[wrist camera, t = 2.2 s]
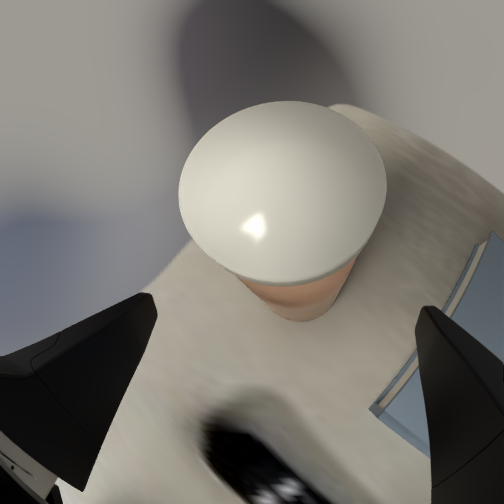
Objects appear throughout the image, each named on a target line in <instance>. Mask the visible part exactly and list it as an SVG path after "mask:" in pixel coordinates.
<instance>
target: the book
mask: <svg viewBox="0 0 504 504" xmlns="http://www.w3.org/2000/svg"><path fill="white" fill-rule="evenodd" d="M442 312H443V313H444V314H446V315H447V316H448V317H449V318H451V319H452V320H453V321H455V322H456V323H457V324H458V325H460V326H461V327H462V328H463V329H464V330H466V331H467V332H468V333H469V334H471V335H472V336H473V337H474V338H475V339H477V340H478V341H479V342H480V343H481V344H483V345H484V346H485V347H486V348H487V349H488V350H490V351H491V352H492V353H493V354H494V355H495V356H497V357H498V358H499V359H500V360H501V361H502V362H503V363H504V242H503V241H502V240H501V239H500V238H499V237H498V236H497V235H496V234H495V233H494V232H493V231H492V232H491V233H490V235H489V237H488V240H487V241H485V242H484V243H483V244H481V245H480V246H479V245H478V244H476V246H475V248H474V250H473V252H472V255H471V257H470V259H469V261H468V263H467V265H466V267H465V269H464V271H463V273H462V275H461V277H460V279H459V281H458V283H457V285H456V287H455V288H454V290H453V292H452V294H451V296H450V297H449V299H448V301H447V303H446V304H445V306H444V308H443V309H442ZM369 410H370V411H371V412H372V413H373V414H374V415H375V416H376V417H377V418H378V419H379V420H380V421H382V422H383V423H384V424H385V425H387V426H388V427H389V428H390V429H392V430H393V431H394V432H396V433H397V434H398V435H400V436H401V437H402V438H403V439H405V440H406V441H407V442H409V443H410V444H411V445H413V446H414V447H415V448H417V449H418V450H420V451H421V452H422V453H424V454H425V455H426V456H428V457H429V458H430V445H429V435H428V426H427V418H426V410H425V403H424V397H423V391H422V385H421V380H420V374H419V364H418V354H417V349H416V351H415V352H414V354H413V355H412V356H411V358H410V359H409V360H408V362H407V363H406V364H405V366H404V367H403V368H402V370H401V371H400V372H399V373H398V375H397V376H396V377H395V378H394V380H393V381H392V382H391V383H390V385H389V386H388V387H387V388H386V389H385V391H384V392H383V393H382V394H381V395H380V396H379V398H378V399H377V400H376V401H375V402H374V403H373V404H372V405H371V407H370V408H369Z"/></svg>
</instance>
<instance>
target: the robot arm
mask: <svg viewBox="0 0 504 504" xmlns="http://www.w3.org/2000/svg"><path fill="white" fill-rule="evenodd" d="M157 315H158V314H157V309H156V306H155V303H154V300H153V297H152V295H151V294H150V293H143V292H140V293H138V294H136V295H134V296H132V297H130V298H128V299H125V300H123V301H122V302H119V303H117V304H115V305H113V306H111V307H109V308H107V309H105V310H103V311H101V312H99V313H96V314H94V315H92V316H90V317H88V318H86V319H84V320H83V321H80V322H78V323H76V324H74V325H72V326H70V327H68V328H66V329H64V330H62V331H61V332H58V333H56V334H54V335H52V336H50V337H48V338H46V339H43V340H41V341H39V342H37V343H34V344H32V345H30V346H27V347H25V348H23V349H20V350H18V351H15V352H13V353H11V354H8V355H5V356H0V504H63V501H62V498H61V494H60V490H59V487H58V486H57V485H56V484H55V482H56V480H57V478H58V477H59V478H60V479H62V480H63V481H65V482H67V483H68V484H70V485H71V486H73V487H75V488H76V489H78V490H80V491H81V492H83V491H84V489H85V487H86V484H87V482H88V479H89V476H90V474H91V471H92V469H93V466H94V464H95V461H96V459H97V456H98V454H99V451H100V449H101V446H102V444H103V442H104V439H105V437H106V434H107V432H108V430H109V428H110V425H111V423H112V421H113V418H114V416H115V414H116V412H117V409H118V407H119V405H120V403H121V401H122V398H123V396H124V394H125V392H126V390H127V388H128V386H129V383H130V381H131V379H132V377H133V375H134V373H135V371H136V369H137V367H138V365H139V362H140V360H141V358H142V356H143V354H144V352H145V349H146V347H147V344H148V341H149V338H150V336H151V333H152V330H153V328H154V325H155V322H156V320H157ZM415 336H416V345H417V354H418V364H419V374H420V380H421V385H422V391H423V397H424V403H425V410H426V418H427V426H428V435H429V445H430V459H431V482H432V489H431V504H504V363H503V362H502V361H501V360H500V359H499V358H498V357H497V356H495V355H494V354H493V353H492V352H491V351H490V350H488V349H487V348H486V347H485V346H484V345H483V344H481V343H480V342H479V341H478V340H477V339H475V338H474V337H473V336H472V335H471V334H469V333H468V332H467V331H466V330H464V329H463V328H462V327H461V326H460V325H458V324H457V323H456V322H455V321H453V320H452V319H451V318H449V317H448V316H447V315H446V314H444V313H443V312H442V311H441V310H439V309H438V308H437V307H435V306H423V307H422V309H421V311H420V314H419V317H418V320H417V323H416V327H415Z"/></svg>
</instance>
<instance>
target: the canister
mask: <svg viewBox="0 0 504 504" xmlns="http://www.w3.org/2000/svg"><path fill="white" fill-rule="evenodd" d="M386 191H387V180H386V172H385V168H384V164H383V161H382V158H381V156H380V153H379V151H378V150H377V148H376V146H375V145H374V143H373V141H372V140H371V139H370V138H369V136H368V135H367V134H366V133H365V132H364V131H363V130H362V129H361V128H360V127H359V126H358V125H357V124H355V123H354V122H353V121H351V120H350V119H349V118H347V117H345V116H343V115H342V114H340V113H338V112H336V111H334V110H331V109H329V108H326V107H323V106H320V105H316V104H311V103H306V102H297V101H279V102H271V103H264V104H260V105H256V106H253V107H250V108H247V109H244V110H242V111H239V112H237V113H235V114H233V115H231V116H229V117H228V118H226V119H224V120H223V121H221V122H219V123H218V124H217V125H216V126H214V127H213V128H212V129H210V130H209V131H208V132H207V133H206V134H205V135H204V136H203V137H202V138H201V140H200V141H199V142H198V143H197V144H196V146H195V147H194V149H193V150H192V152H191V153H190V155H189V157H188V159H187V161H186V163H185V165H184V169H183V171H182V174H181V178H180V184H179V206H180V211H181V214H182V218H183V221H184V223H185V226H186V228H187V230H188V232H189V233H190V235H191V236H192V238H193V239H194V241H195V242H196V243H197V244H198V245H199V246H200V247H201V248H202V250H203V251H205V252H206V253H207V254H208V255H209V256H210V257H211V258H212V259H213V260H214V261H215V262H217V263H218V264H219V265H220V266H222V267H223V268H224V269H225V270H227V271H228V272H230V273H232V274H234V275H235V276H236V277H237V278H238V279H239V280H240V281H241V282H243V283H244V284H245V285H246V286H247V287H248V288H249V289H250V290H251V291H252V292H253V293H254V294H255V295H256V296H257V297H258V298H259V299H260V300H262V301H263V302H264V303H265V304H266V305H267V306H268V307H269V308H270V309H271V310H272V311H273V312H274V313H276V314H277V315H278V316H280V317H282V318H284V319H286V320H290V321H295V322H304V321H310V320H313V319H316V318H318V317H320V316H321V315H323V314H324V313H325V312H327V311H328V310H329V309H330V307H331V306H332V305H333V303H334V301H335V300H336V298H337V296H338V294H339V292H340V290H341V288H342V286H343V284H344V283H345V281H346V279H347V277H348V275H349V273H350V271H351V269H352V267H353V265H354V263H355V261H356V258H357V256H358V254H359V253H360V252H361V251H362V249H363V248H364V247H365V245H366V244H367V242H368V241H369V239H370V237H371V235H372V233H373V231H374V229H375V227H376V225H377V223H378V220H379V218H380V216H381V213H382V211H383V208H384V204H385V200H386Z"/></svg>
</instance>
